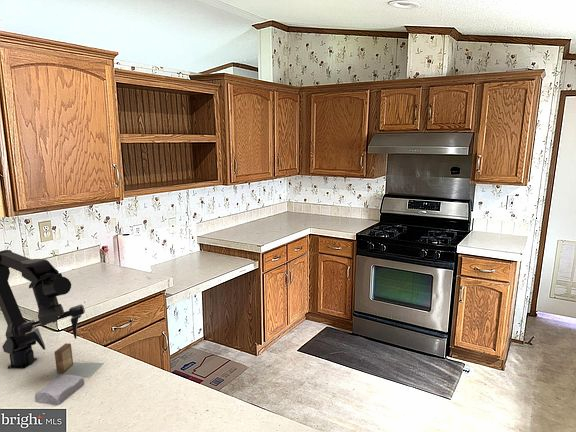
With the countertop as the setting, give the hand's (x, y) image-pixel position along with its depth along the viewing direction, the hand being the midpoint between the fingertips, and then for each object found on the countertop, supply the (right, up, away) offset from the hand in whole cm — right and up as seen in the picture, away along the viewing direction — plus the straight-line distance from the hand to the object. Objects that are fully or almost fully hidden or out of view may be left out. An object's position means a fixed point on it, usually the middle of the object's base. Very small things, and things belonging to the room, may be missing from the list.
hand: (60, 343), depth 132 cm
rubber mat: (+1, -11, +7) cm, 13 cm away
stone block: (+3, -14, -6) cm, 15 cm away
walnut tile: (-3, -11, +8) cm, 14 cm away
